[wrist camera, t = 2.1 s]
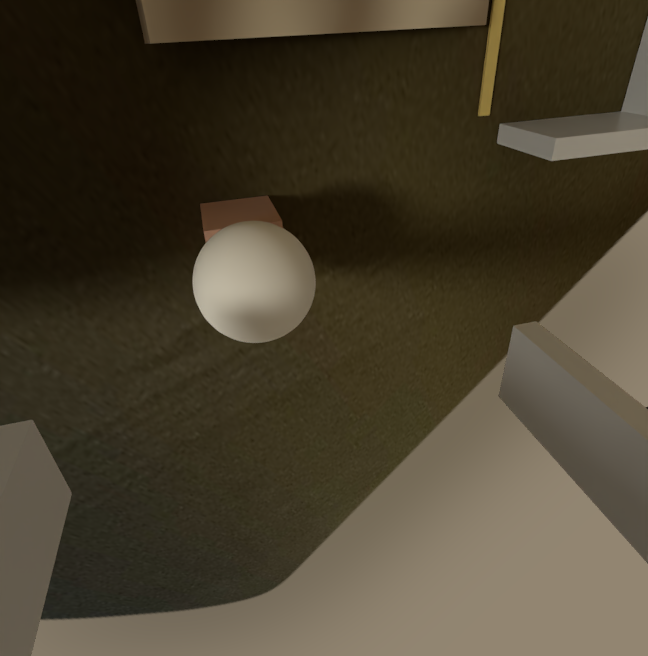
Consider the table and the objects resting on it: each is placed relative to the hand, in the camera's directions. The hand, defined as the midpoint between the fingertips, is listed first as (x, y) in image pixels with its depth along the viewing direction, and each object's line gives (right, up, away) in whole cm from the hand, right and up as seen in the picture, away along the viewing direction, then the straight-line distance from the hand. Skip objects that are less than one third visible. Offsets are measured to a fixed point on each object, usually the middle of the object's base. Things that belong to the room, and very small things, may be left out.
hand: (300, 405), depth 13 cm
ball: (-2, +4, +6) cm, 8 cm away
